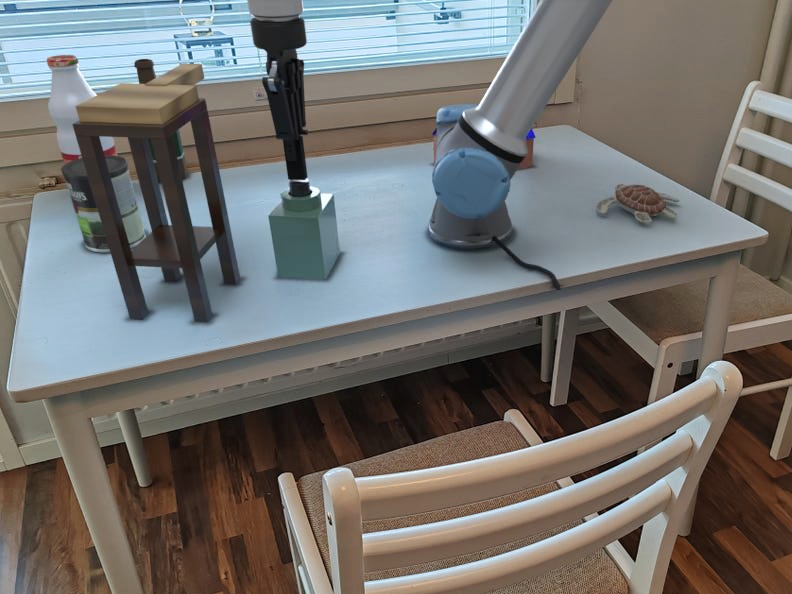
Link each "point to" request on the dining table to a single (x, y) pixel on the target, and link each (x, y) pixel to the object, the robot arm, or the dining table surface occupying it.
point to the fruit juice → (70, 105)
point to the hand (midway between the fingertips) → (297, 178)
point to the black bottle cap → (299, 188)
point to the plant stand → (161, 207)
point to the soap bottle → (304, 235)
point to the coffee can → (88, 209)
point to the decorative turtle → (639, 202)
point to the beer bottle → (147, 75)
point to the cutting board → (145, 99)
